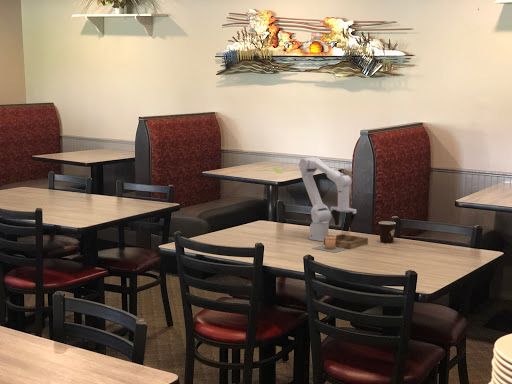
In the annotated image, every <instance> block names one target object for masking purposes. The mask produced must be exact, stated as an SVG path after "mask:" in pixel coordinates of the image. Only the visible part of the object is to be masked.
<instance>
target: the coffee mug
mask: <svg viewBox="0 0 512 384" xmlns="http://www.w3.org/2000/svg"><path fill="white" fill-rule="evenodd" d="M397 229H398V224H396V222H395V221H390V220H389V221H387V220H386V221H384V220H383V221H379V222H378V230H379V240H380V243H381V244H393V243H394V239H395V233H396V231H397Z"/></svg>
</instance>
